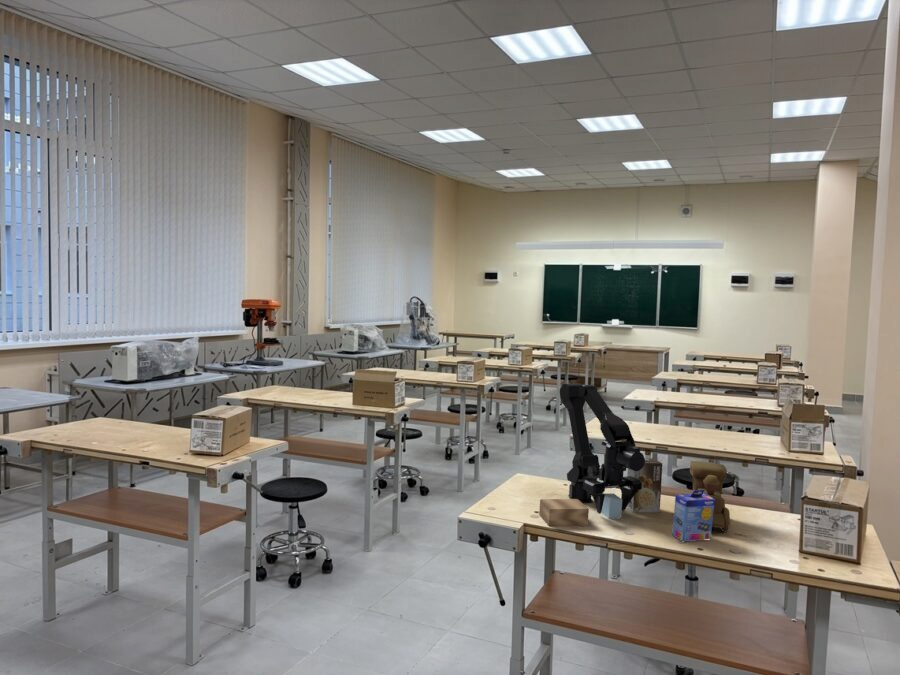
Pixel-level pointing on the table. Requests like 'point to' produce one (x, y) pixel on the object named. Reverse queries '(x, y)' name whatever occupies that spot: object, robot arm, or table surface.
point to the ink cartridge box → (693, 516)
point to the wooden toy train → (712, 488)
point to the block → (612, 506)
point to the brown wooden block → (563, 512)
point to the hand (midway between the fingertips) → (610, 511)
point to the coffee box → (647, 487)
